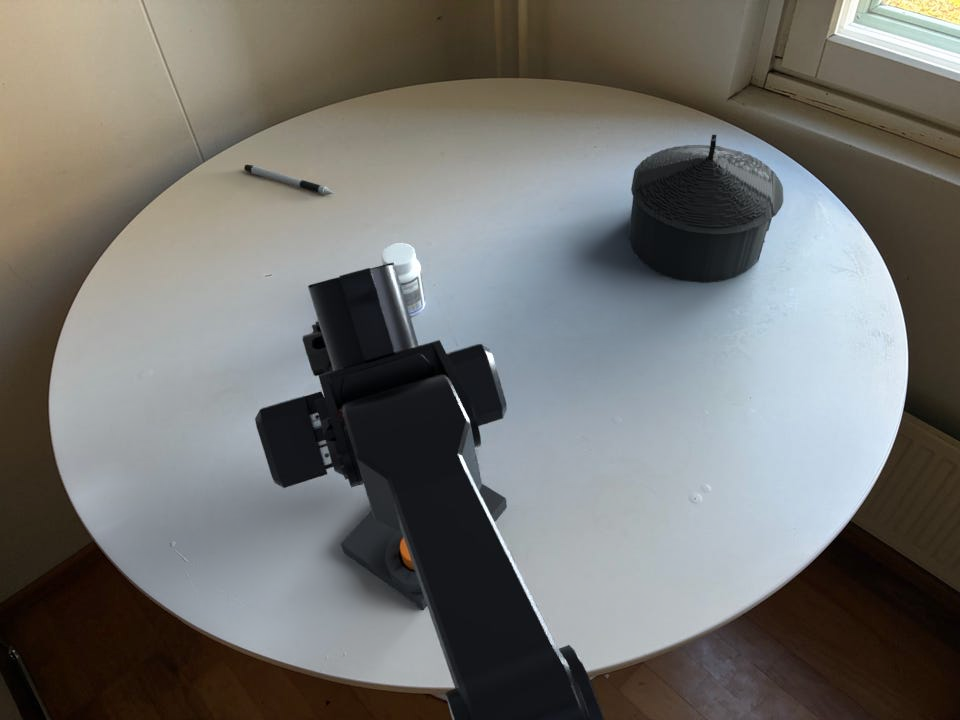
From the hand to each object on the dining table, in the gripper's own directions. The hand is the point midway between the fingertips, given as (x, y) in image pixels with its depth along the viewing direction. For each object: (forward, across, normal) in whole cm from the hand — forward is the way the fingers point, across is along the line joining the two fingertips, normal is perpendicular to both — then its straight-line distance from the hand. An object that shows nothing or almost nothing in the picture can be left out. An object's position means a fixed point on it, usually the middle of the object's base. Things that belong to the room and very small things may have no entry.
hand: (377, 406), depth 68 cm
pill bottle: (+28, -8, -8) cm, 30 cm away
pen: (+50, +1, -31) cm, 59 cm away
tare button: (+1, 0, +14) cm, 14 cm away
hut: (+26, -48, -7) cm, 54 cm away
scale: (+6, -1, +13) cm, 15 cm away
